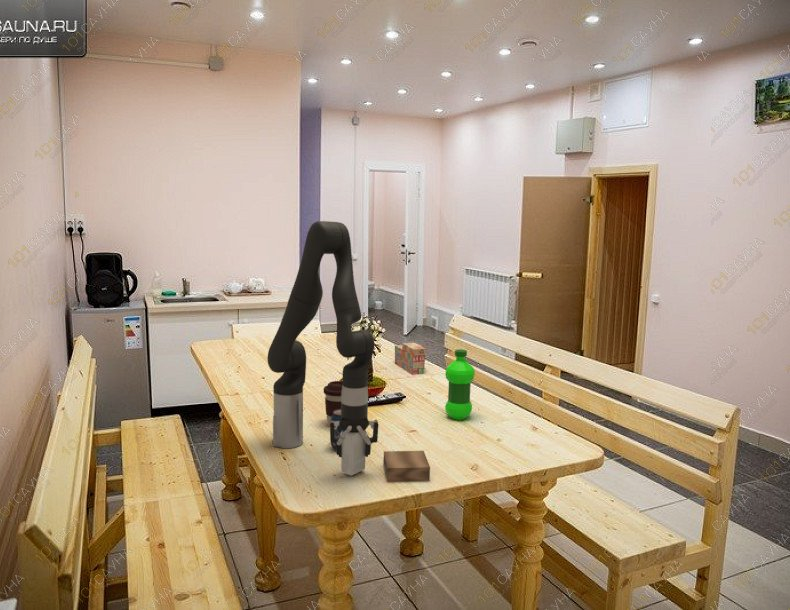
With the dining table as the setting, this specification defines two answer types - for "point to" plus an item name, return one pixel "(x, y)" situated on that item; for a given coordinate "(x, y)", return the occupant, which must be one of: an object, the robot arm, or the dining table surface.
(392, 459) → the walnut base
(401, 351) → the printed snack box
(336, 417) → the soda can
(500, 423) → the dining table surface
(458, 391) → the plastic bottle
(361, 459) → the skincare box
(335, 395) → the coffee cup
